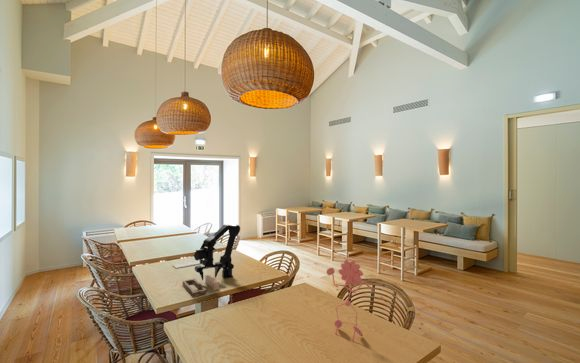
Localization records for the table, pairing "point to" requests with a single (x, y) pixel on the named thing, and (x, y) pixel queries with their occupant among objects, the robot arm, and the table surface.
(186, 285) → the frame
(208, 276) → the clay strip
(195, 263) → the baseboard molding
